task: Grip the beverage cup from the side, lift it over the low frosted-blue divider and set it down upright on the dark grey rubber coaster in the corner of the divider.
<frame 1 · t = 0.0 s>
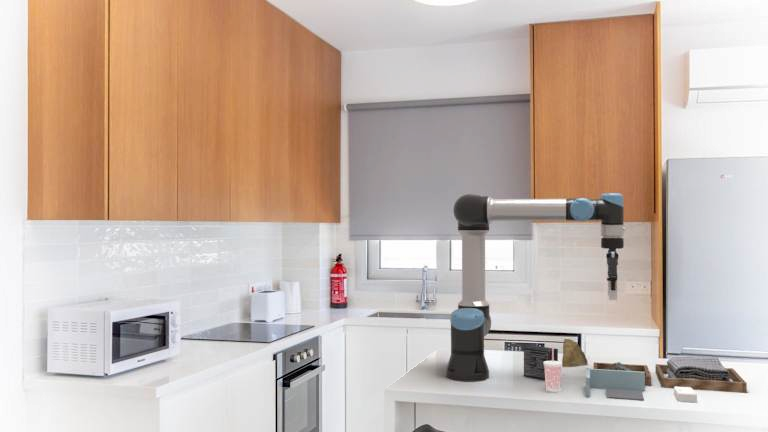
hand: (612, 297, 243), 28 cm above the counter, tool pointing down, fingers open, 13 cm apart
towel frame: (698, 381, 236), on the counter
fossilized seashell: (622, 379, 242), resting in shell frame
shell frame: (621, 377, 242), on the counter
soap: (685, 399, 215), on the counter
divider: (615, 393, 221), on the counter
small box: (540, 378, 243), on the counter
coaster: (624, 394, 219), on the counter
beverage cup: (552, 390, 225), on the counter
rock: (574, 365, 263), on the counter
towel: (698, 383, 236), resting in towel frame
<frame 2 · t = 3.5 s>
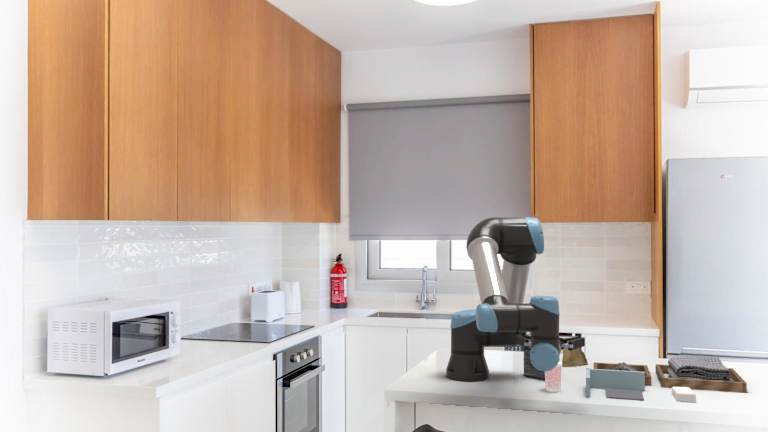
hand: (551, 336, 216), 19 cm above the counter, tool horizontal, fingers open, 13 cm apart
fossilized seashell: (627, 379, 242), resting in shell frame
towel: (699, 382, 237), resting in towel frame
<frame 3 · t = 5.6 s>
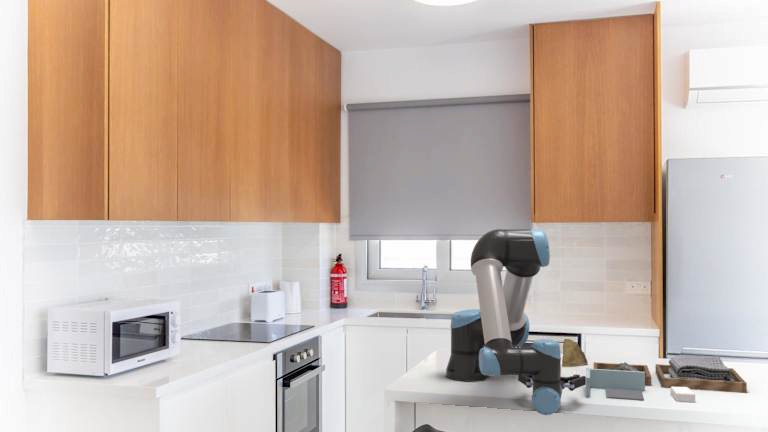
hand: (552, 372, 220), 7 cm above the counter, tool horizontal, fingers open, 13 cm apart
fossilized seashell: (628, 379, 242), resting in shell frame
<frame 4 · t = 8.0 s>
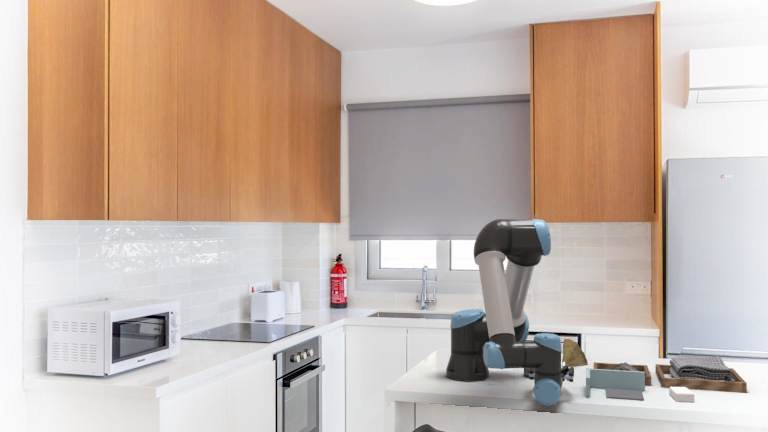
hand: (553, 365, 230), 7 cm above the counter, tool horizontal, fingers closed on beverage cup, 6 cm apart
fossilized seashell: (628, 379, 242), resting in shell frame
beverage cup: (552, 390, 225), on the counter, touching gripper
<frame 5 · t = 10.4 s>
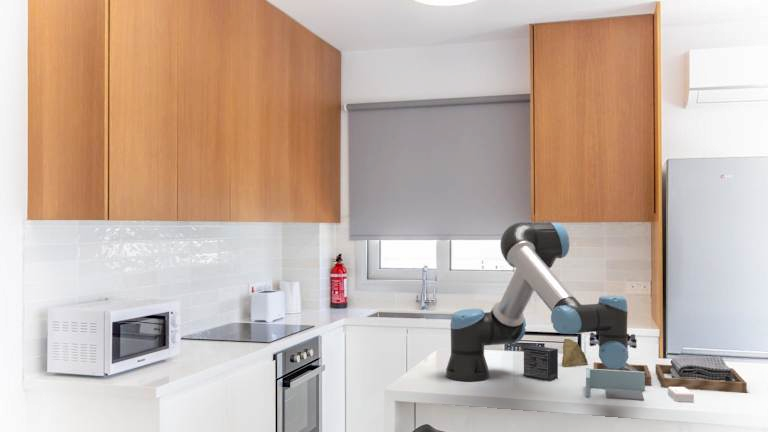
hand: (612, 333, 224), 19 cm above the counter, tool horizontal, fingers closed on beverage cup, 6 cm apart
beverage cup: (612, 359, 219), point 11 cm above the counter, touching gripper
when the fingers open (8 cm above the counter, at t = 12.9 s): beverage cup stays where it is, resting on coaster.
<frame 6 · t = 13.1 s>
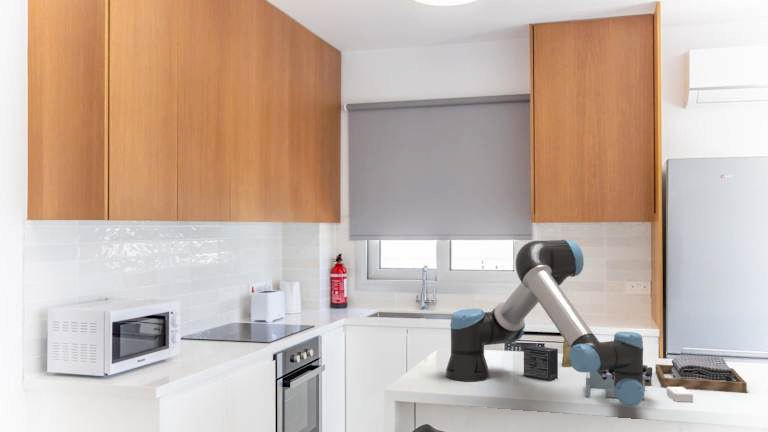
hand: (623, 365, 223), 8 cm above the counter, tool horizontal, fingers open, 9 cm apart
beverage cup: (624, 394, 219), resting on coaster
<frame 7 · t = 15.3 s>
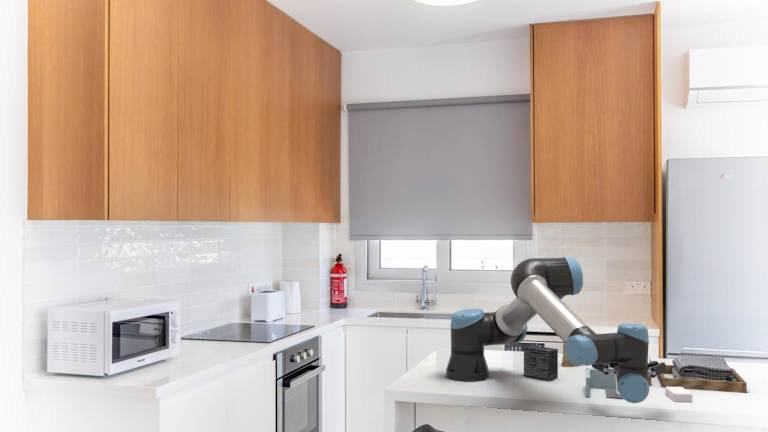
hand: (626, 359, 209), 13 cm above the counter, tool horizontal, fingers open, 13 cm apart
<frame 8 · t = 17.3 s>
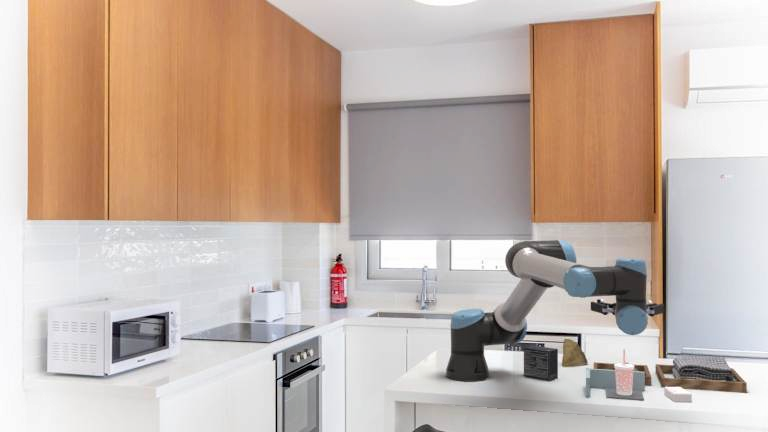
hand: (625, 304, 210), 30 cm above the counter, tool horizontal, fingers open, 13 cm apart
at the end: beverage cup inside the target area on the coaster (0.1 cm from its centre), point 0.2 cm above the coaster's base; beverage cup tilted 0°; the gripper is holding nothing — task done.
